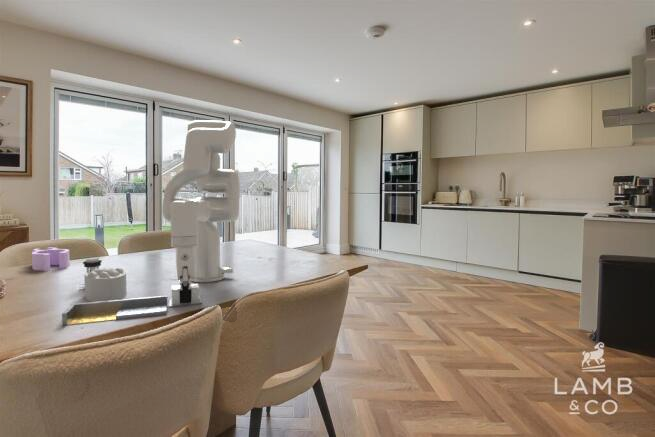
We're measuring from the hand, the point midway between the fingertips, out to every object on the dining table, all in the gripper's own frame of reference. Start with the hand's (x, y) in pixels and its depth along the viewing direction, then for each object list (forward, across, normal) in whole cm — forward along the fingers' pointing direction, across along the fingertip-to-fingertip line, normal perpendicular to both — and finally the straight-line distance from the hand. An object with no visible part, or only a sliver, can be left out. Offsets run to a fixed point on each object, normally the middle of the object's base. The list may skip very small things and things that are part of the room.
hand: (185, 298), depth 106 cm
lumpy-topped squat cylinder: (+1, +14, +23) cm, 27 cm away
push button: (+1, +27, +30) cm, 40 cm away
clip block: (+1, 0, 0) cm, 1 cm away
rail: (+1, -6, +17) cm, 18 cm away
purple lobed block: (+1, +70, +54) cm, 89 cm away
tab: (+1, 0, 0) cm, 1 cm away
